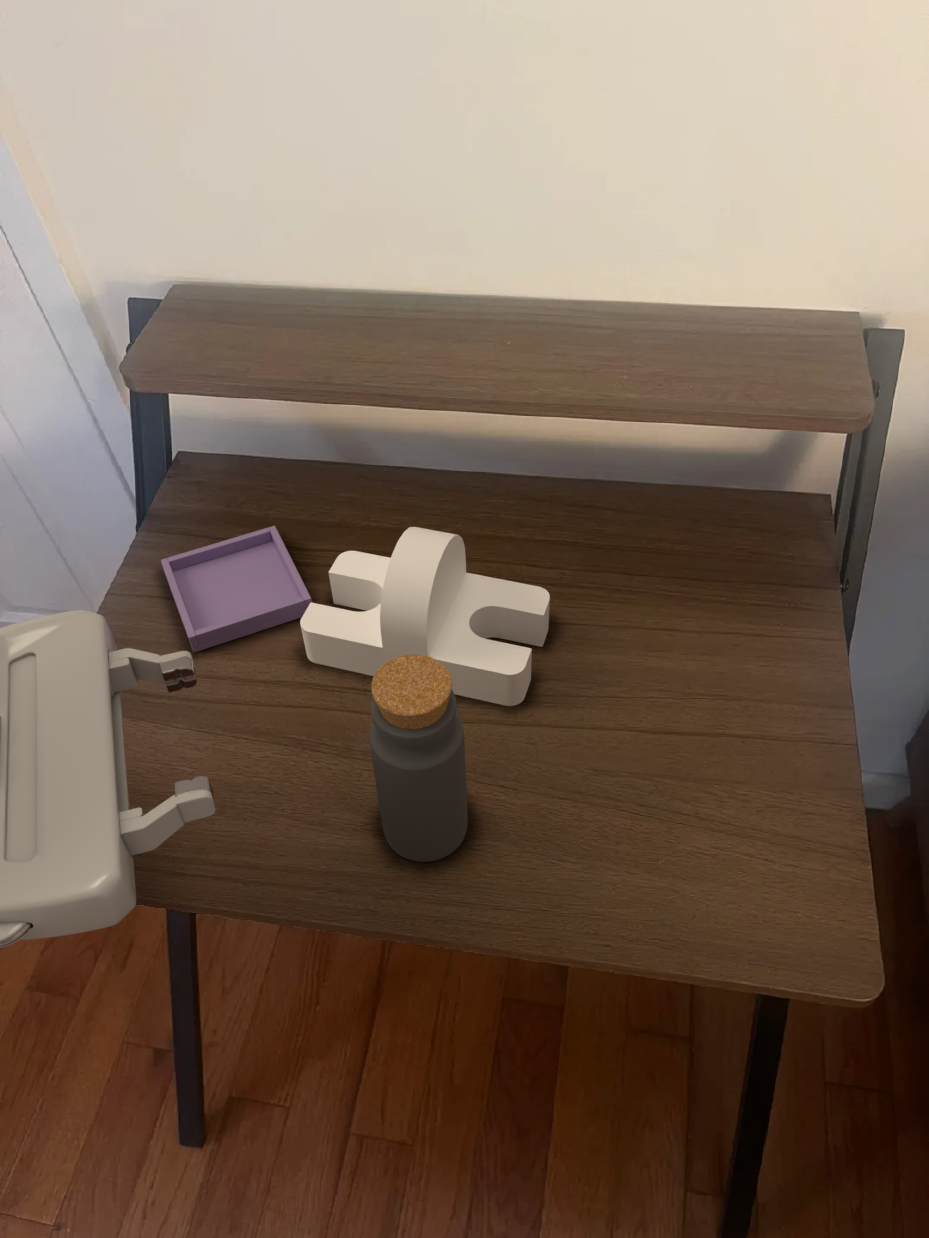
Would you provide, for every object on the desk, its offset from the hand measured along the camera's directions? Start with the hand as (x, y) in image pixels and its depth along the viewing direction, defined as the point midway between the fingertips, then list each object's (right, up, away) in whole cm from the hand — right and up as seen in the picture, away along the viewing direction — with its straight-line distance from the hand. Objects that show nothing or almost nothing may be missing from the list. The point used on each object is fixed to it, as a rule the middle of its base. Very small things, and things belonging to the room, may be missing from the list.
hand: (202, 727), depth 57 cm
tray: (-4, +8, +29) cm, 30 cm away
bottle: (+12, -8, +12) cm, 19 cm away
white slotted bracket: (+12, +4, +24) cm, 27 cm away
